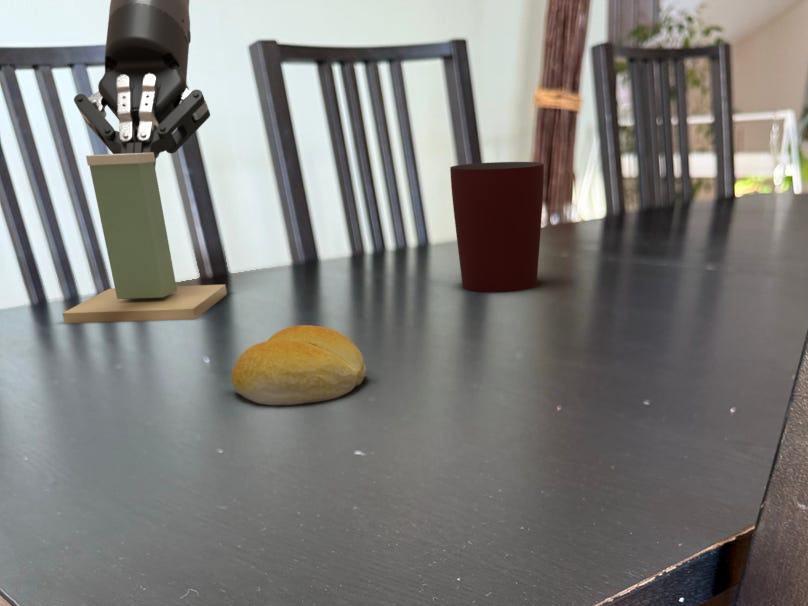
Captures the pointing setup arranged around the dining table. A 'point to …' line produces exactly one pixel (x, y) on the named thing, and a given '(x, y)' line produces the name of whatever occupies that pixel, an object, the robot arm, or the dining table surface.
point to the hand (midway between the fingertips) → (136, 184)
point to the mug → (498, 224)
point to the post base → (147, 306)
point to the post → (133, 224)
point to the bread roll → (299, 367)
